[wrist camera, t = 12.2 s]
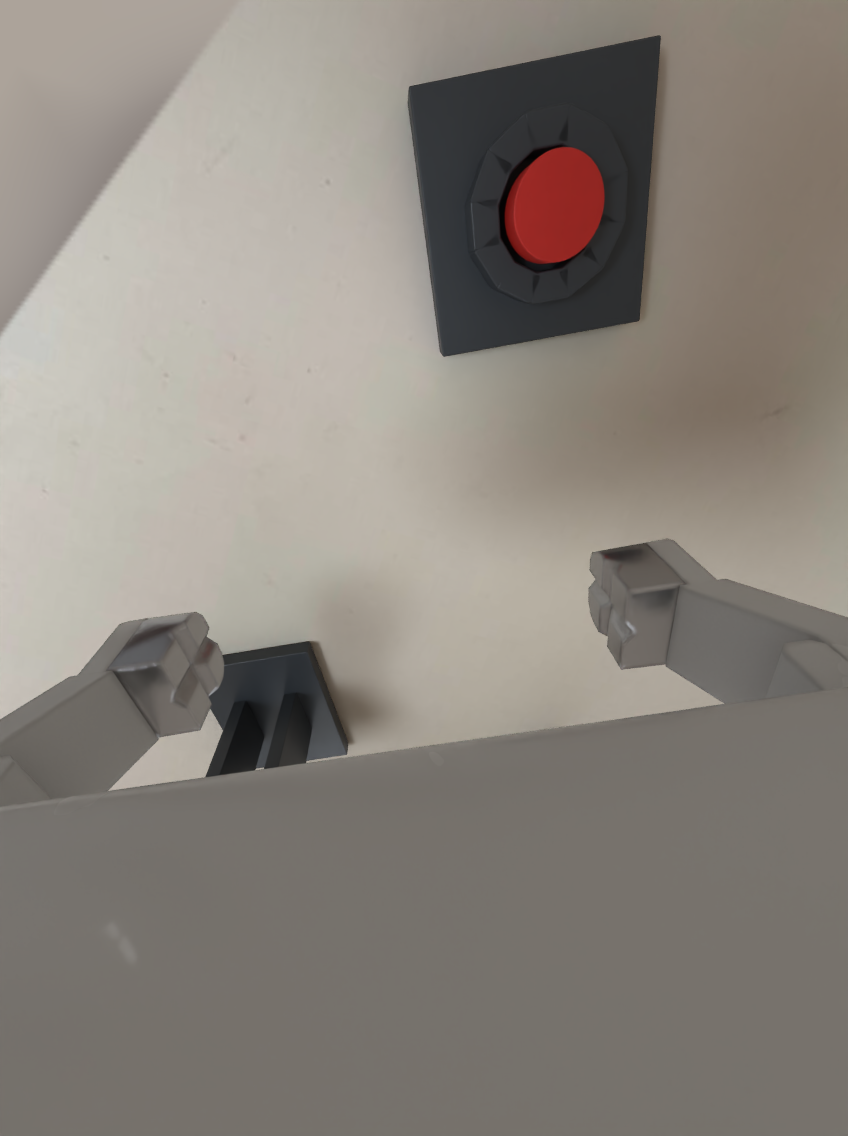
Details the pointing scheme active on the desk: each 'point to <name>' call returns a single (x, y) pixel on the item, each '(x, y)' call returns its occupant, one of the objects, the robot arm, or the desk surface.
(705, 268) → the desk surface
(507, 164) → the button box
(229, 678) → the switch bracket
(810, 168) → the desk surface
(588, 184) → the red button
